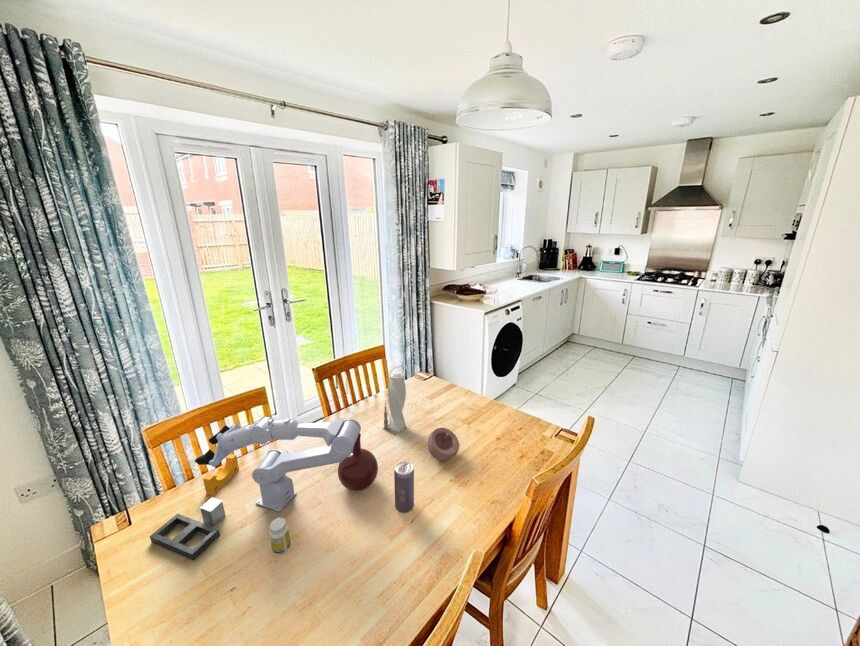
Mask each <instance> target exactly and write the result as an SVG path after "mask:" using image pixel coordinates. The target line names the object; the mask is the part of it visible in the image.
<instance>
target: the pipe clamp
mask: <svg viewBox="0 0 860 646" xmlns="http://www.w3.org/2000/svg"><path fill="white" fill-rule="evenodd" d="M237 456H238V455H237V454H235V453H230V454H229V455H228V456H227V457H226V458H225V462H224V463H223V464H221V465H220V467H219V468H218V470H217V471H216V473H215V474H206V475H205V476H204V477H203V478H202V481H203V486H204V489H205V493H206V495H210V496H215V494H216V493H217V492H218V491H219V490H220V489H221V488H222V487H224V485H225V484H226V483H227V482H228V481H229V480H230V479H231V478H232V477H233V476H234V475H235V474H236V473H237V472H238V471H239V470H240V468H239V462H238V457H237Z"/></svg>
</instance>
